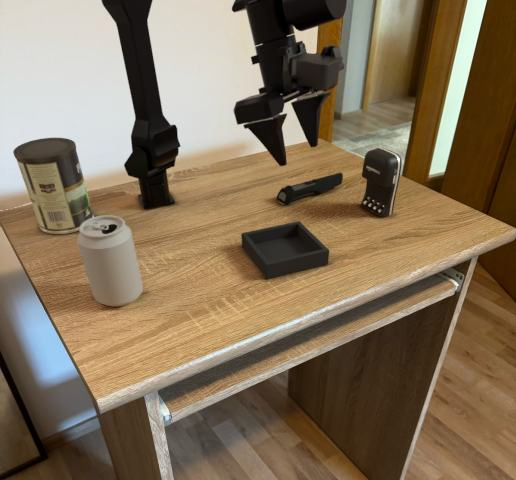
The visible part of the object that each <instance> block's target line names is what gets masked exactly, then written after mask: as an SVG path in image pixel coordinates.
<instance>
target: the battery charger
mask: <svg viewBox="0 0 516 480" xmlns="http://www.w3.org/2000/svg"><path fill="white" fill-rule="evenodd" d="M402 162H403V161H402V157H401V156H400V154H398V153H396V152H395V151H392V150H390V149H387V148H385V147H376V148H374V149H370V150H368V151H367V152H366V153H365V155H364V160H363V164H362V170H361V177H362V178H364V179H365V180H366V184H365V191H364V195H363V198H362V200H361V203H360V206H361V207H362V208H363V209H364V210H366V211H368V212H370V214H371V213H372V214H373V215H375V216H377V217H387V216H391V215H392V214H393V213H394V208H395V202H396V197H397V191H398V187H399V184H400V183H399V182H400V179H401V178H400V176H401V171H402V164H403V163H402Z"/></svg>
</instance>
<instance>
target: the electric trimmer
mask: <svg viewBox="0 0 516 480" xmlns="http://www.w3.org/2000/svg"><path fill="white" fill-rule="evenodd" d="M343 179H344V174H343V172H337V173H334V174H329V175H326V176H321V177H319V178H314V179H311V180H307V181H303V182H300V183H296V184H293V185H289V184H288V185H285V187H282V188H280V190H279V191H278V193H277V195H276V201H277V202H278V203H279V204H281V205H283V206H284V205H286V206H289V205H290V204H291V202H292V201H296V200H298V199H301V198H304V197H308V196H310V195H314V194H316V195H320V194H323V193H325V192H327V191H330V190H332V189H334V188H337V187H338V186H341V185H342V183H343Z"/></svg>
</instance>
